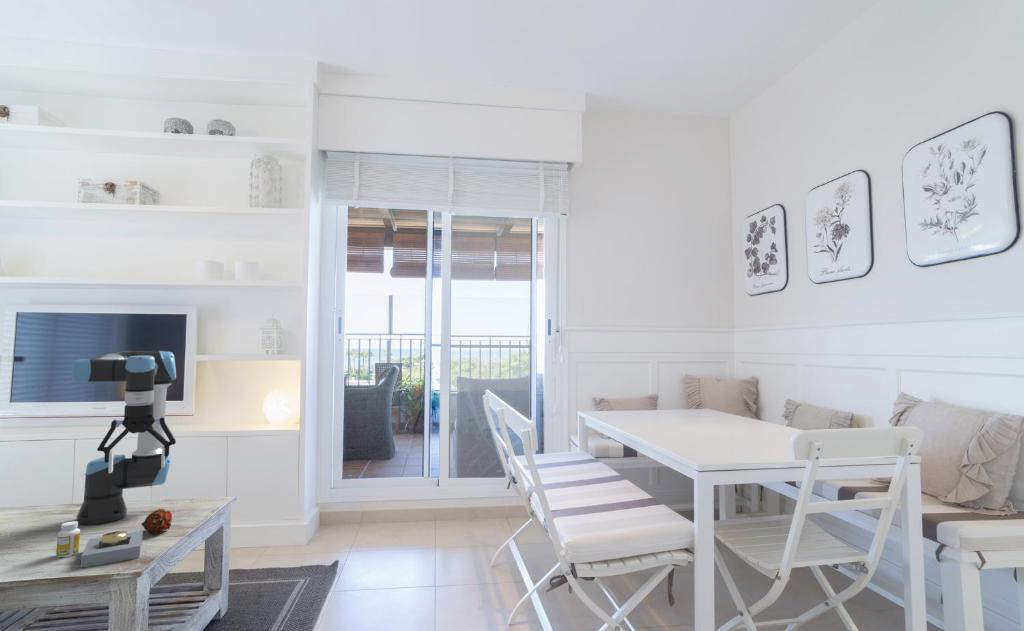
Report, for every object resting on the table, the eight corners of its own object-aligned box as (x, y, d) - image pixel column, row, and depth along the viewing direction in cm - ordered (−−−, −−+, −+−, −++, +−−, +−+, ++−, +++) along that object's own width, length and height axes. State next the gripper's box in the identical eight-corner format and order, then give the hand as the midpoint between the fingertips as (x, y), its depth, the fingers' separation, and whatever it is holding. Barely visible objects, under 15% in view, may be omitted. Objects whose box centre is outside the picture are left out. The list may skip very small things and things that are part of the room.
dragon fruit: (157, 541, 174) (151, 537, 182) (181, 522, 179) (174, 519, 188) (140, 524, 171) (135, 521, 180) (165, 505, 177) (159, 502, 185)
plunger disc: (102, 541, 160) (103, 533, 160) (127, 537, 164) (128, 529, 164) (100, 547, 155) (100, 539, 155) (125, 543, 158) (126, 535, 159)
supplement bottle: (74, 550, 162) (77, 519, 162) (81, 553, 159) (83, 522, 160) (53, 555, 157) (55, 524, 158) (59, 559, 154) (62, 527, 155)
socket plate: (88, 550, 162) (89, 539, 162) (141, 541, 169) (142, 530, 170) (80, 567, 148) (81, 555, 149) (139, 557, 156) (140, 546, 156)
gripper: (86, 408, 151) (84, 478, 151) (184, 403, 164) (183, 467, 164) (91, 404, 158) (89, 471, 158) (185, 399, 171) (184, 461, 171)
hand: (137, 469), depth 161 cm, fingers open, 13 cm apart
